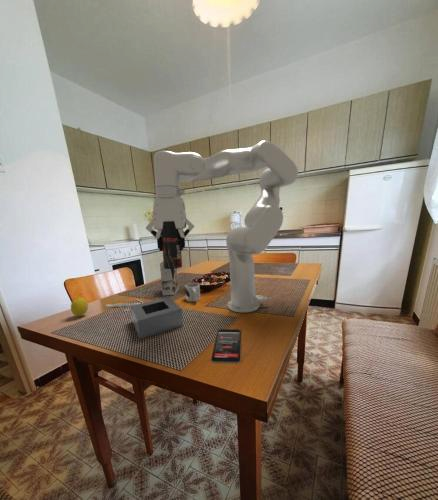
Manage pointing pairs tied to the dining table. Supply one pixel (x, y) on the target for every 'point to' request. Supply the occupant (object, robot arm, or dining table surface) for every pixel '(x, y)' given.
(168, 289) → the coffee box
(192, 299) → the mug
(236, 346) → the smartphone
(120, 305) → the crossbow
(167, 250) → the deodorant
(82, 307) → the lemon
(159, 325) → the socket block
